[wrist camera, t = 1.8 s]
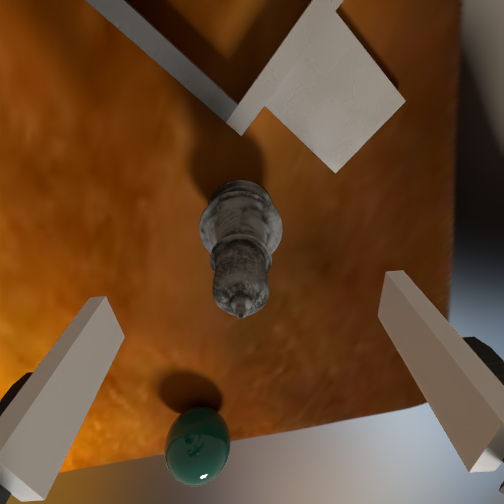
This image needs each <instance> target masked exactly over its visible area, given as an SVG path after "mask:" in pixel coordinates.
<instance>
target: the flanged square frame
mask: <svg viewBox="0 0 504 504" xmlns="http://www.w3.org/2000/svg"><path fill="white" fill-rule="evenodd" d="M86 1H87V2H88V3H89V4H91V5H92V6H93V7H94V8H95V9H96V10H97V11H99V12H100V13H101V14H102V15H103V16H104V17H105V18H107V19H108V20H109V21H110V22H111V23H112V24H113V25H115V26H116V27H117V28H118V29H119V30H120V31H121V32H123V33H124V34H125V35H126V36H127V37H128V38H130V39H131V40H132V41H133V42H134V43H135V44H136V45H138V46H139V47H140V48H141V49H142V50H143V51H144V52H146V53H147V54H148V55H149V56H150V57H151V58H152V59H154V60H155V61H156V62H157V63H158V64H159V65H160V66H162V67H163V68H164V69H165V70H166V71H167V72H168V73H170V74H171V75H172V76H173V77H174V78H175V79H176V80H178V81H179V82H180V83H181V84H182V85H183V86H184V87H186V88H187V89H188V90H189V91H190V92H191V93H192V94H194V95H195V96H196V97H197V98H198V99H199V100H201V101H202V102H203V103H204V104H205V105H206V106H207V107H209V108H210V109H211V110H212V111H213V112H214V113H215V114H217V115H218V116H219V117H220V118H221V119H222V120H223V121H225V122H226V123H227V124H228V125H229V126H230V127H231V128H233V129H234V130H235V131H236V132H237V133H238V134H239V135H241V136H242V134H243V133H244V132H245V131H246V129H247V128H248V127H249V125H250V124H251V123H252V121H253V120H254V119H255V117H256V116H257V115H258V113H259V112H260V111H261V109H262V108H263V107H264V106H266V107H267V108H268V109H269V110H270V111H271V112H272V113H273V114H274V115H275V116H276V117H277V118H278V119H279V120H280V121H281V122H282V123H283V124H284V125H285V126H286V127H287V128H288V129H289V130H291V131H292V132H293V133H294V134H295V135H296V136H297V137H298V138H299V139H300V140H301V141H302V142H303V143H304V144H305V145H306V146H307V147H308V148H309V149H310V150H311V151H312V152H313V153H314V154H316V155H317V156H318V157H319V158H320V159H321V160H322V161H323V162H324V163H325V164H326V165H327V166H328V167H329V168H330V169H331V170H332V171H333V172H334V173H336V172H337V171H338V170H339V169H340V168H341V167H342V166H343V165H344V164H345V163H346V162H347V161H348V160H349V159H350V158H351V157H352V156H353V155H354V154H355V153H356V152H357V151H358V150H359V149H360V148H361V147H362V146H363V145H364V144H365V143H366V141H367V140H368V139H369V138H370V137H371V136H372V135H373V134H374V133H375V132H376V131H377V130H378V129H379V128H380V127H381V126H382V125H383V124H384V123H385V122H386V121H387V120H388V119H389V118H390V117H391V116H392V115H393V114H394V113H395V112H396V111H397V110H398V109H399V108H400V106H401V105H402V104H403V103H404V102H405V100H404V98H403V97H402V96H401V94H400V93H399V92H398V91H397V89H396V88H395V87H394V86H393V84H392V83H391V82H390V80H389V79H388V78H387V77H386V75H385V74H384V73H383V71H382V70H381V69H380V68H379V66H378V65H377V64H376V63H375V61H374V60H373V59H372V57H371V56H370V55H369V54H368V52H367V51H366V50H365V49H364V47H363V46H362V45H361V43H360V42H359V41H358V40H357V38H356V37H355V36H354V34H353V33H352V32H351V31H350V29H349V28H348V27H347V26H346V24H345V23H344V22H343V20H342V19H341V18H340V17H339V15H338V14H337V13H336V10H337V8H338V7H339V6H340V4H341V3H342V2H343V0H311V1H310V3H309V4H308V6H307V7H306V8H305V10H304V11H303V13H302V14H301V15H300V17H299V18H298V20H297V21H296V23H295V24H294V25H293V27H292V28H291V30H290V31H289V32H288V34H287V35H286V37H285V38H284V39H283V41H282V42H281V44H280V45H279V47H278V48H277V49H276V51H275V52H274V54H273V55H272V56H271V58H270V59H269V61H268V62H267V63H266V65H265V66H264V68H263V69H262V71H261V72H260V73H259V75H258V76H257V78H256V79H255V80H254V82H253V83H252V85H251V86H250V87H249V89H248V90H247V92H246V93H245V95H244V96H243V97H242V99H241V100H240V102H239V103H238V102H237V101H236V100H235V99H234V98H232V97H231V96H230V95H229V94H228V93H227V92H226V91H225V90H224V89H223V88H222V87H221V86H219V85H218V84H217V83H216V82H215V81H214V80H213V79H212V78H211V77H210V76H209V75H208V74H206V73H205V72H204V71H203V70H202V69H201V68H200V67H199V66H198V65H197V64H196V63H195V62H193V61H192V60H191V59H190V58H189V57H188V56H187V55H186V54H185V53H184V52H183V51H182V50H180V49H179V48H178V47H177V46H176V45H175V44H174V43H173V42H172V41H171V40H170V39H169V38H167V37H166V36H165V35H164V34H163V33H162V32H161V31H160V30H159V29H158V28H157V27H156V26H155V25H153V24H152V23H151V22H150V21H149V20H148V19H147V18H146V17H145V16H144V15H143V14H142V13H140V12H139V11H138V10H137V9H136V8H135V7H134V6H133V5H132V4H131V3H130V2H129V1H127V0H86Z"/></svg>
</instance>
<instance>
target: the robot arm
mask: <svg viewBox="0 0 504 504" xmlns="http://www.w3.org/2000/svg"><path fill="white" fill-rule="evenodd" d="M378 318H379V320H380V321H381V323H382V325H383V326H384V328H385V330H386V331H387V333H388V335H389V337H390V338H391V340H392V342H393V343H394V345H395V347H396V349H397V350H398V352H399V354H400V355H401V357H402V359H403V361H404V362H405V364H406V366H407V367H408V369H409V371H410V372H411V374H412V376H413V378H414V379H415V381H416V383H417V384H418V386H419V388H420V390H421V391H422V393H423V395H424V396H425V398H426V400H427V402H428V403H429V405H430V407H431V408H432V410H433V412H434V413H435V415H436V417H437V419H438V420H439V422H440V424H441V425H442V427H443V429H444V431H445V432H446V434H447V436H448V437H449V439H450V441H451V442H452V444H453V446H454V448H455V449H456V451H457V453H458V454H459V456H460V458H461V460H462V461H463V463H464V465H465V466H466V468H467V470H468V471H469V472H483V471H495V470H496V469H497V467H498V466H499V465H500V464H501V462H502V461H503V462H504V361H503V360H502V359H501V358H500V357H499V356H498V355H497V354H496V353H495V352H494V350H493V349H492V348H490V347H489V346H488V345H486V344H485V343H482V342H481V341H480V340H478V339H477V338H475V337H464V338H462V337H461V336H460V335H459V334H458V333H457V332H456V331H455V329H454V328H453V327H452V326H451V325H450V324H449V323H448V321H447V320H446V319H445V318H444V317H443V316H442V315H441V313H440V312H439V311H438V310H437V309H436V308H435V307H434V305H433V304H432V303H431V302H430V301H429V300H428V299H427V297H426V296H425V295H424V294H423V293H422V292H421V291H420V289H419V288H418V287H417V286H416V285H415V284H414V283H413V281H412V280H411V279H410V278H409V277H408V276H407V275H406V273H405V272H404V271H403V270H401V271H390V272H386V274H385V280H384V285H383V290H382V295H381V301H380V306H379V311H378ZM124 337H125V336H124V334H123V332H122V330H121V328H120V326H119V324H118V321H117V319H116V317H115V315H114V313H113V311H112V309H111V306H110V304H109V302H108V300H107V298H106V296H101V297H90V298H89V299H88V301H87V302H86V303H85V305H84V306H83V307H82V309H81V310H80V311H79V313H78V314H77V315H76V317H75V318H74V319H73V320H72V322H71V323H70V324H69V326H68V327H67V328H66V330H65V331H64V332H63V334H62V335H61V336H60V338H59V339H58V340H57V342H56V343H55V344H54V346H53V347H52V348H51V350H50V351H49V352H48V354H47V355H46V356H45V358H44V359H43V360H42V362H41V363H40V364H39V366H38V367H37V368H36V370H35V371H34V372H30V373H26V374H25V375H24V376H23V377H22V378H20V379H19V380H18V381H17V382H16V383H15V384H13V385H12V386H11V388H10V389H9V390H8V391H7V393H6V394H5V395H4V396H3V398H2V399H1V402H0V504H6V502H7V500H8V499H9V497H10V495H11V494H12V495H13V496H15V497H16V498H17V499H18V500H20V501H21V502H22V501H37V500H45V499H46V497H47V494H48V493H49V490H50V488H51V486H52V484H53V482H54V480H55V478H56V476H57V474H58V472H59V470H60V468H61V466H62V464H63V462H64V460H65V458H66V456H67V454H68V452H69V450H70V448H71V446H72V444H73V442H74V439H75V437H76V435H77V433H78V431H79V429H80V427H81V425H82V423H83V421H84V419H85V417H86V415H87V413H88V411H89V409H90V407H91V405H92V403H93V401H94V399H95V397H96V395H97V393H98V390H99V388H100V386H101V384H102V382H103V380H104V378H105V376H106V374H107V372H108V370H109V368H110V366H111V364H112V362H113V360H114V358H115V356H116V354H117V352H118V350H119V348H120V346H121V344H122V342H123V339H124ZM499 492H501V493H503V494H504V482H503V483H502V484H501V487H500V489H499Z"/></svg>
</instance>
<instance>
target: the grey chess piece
mask: <svg viewBox="0 0 504 504" xmlns="http://www.w3.org/2000/svg"><path fill="white" fill-rule="evenodd" d="M282 231H283V229H282V220H281V218H280V215H279V213H278V210H277V209H276V208H275V207H274V205H273V203H272V201H271V198H270V196H269V195H268V193H267V192H266V191H265V189H263V188H262V187H261V186H259V185H258V184H256V183H254V182H251V181H247V180H235V181H230V182H228V183H226V184H223V185H222V186H221V187H219V188H218V189H217V190H216V191H215V193H214V194H213V195H212V197H211V200H210V203H209V204H208V206H207V207H206V209H205V210H204V211H203V213H202V216H201V219H200V222H199V234H200V238H201V241H202V243H203V245H204V247H205V248H206V250H207V251H208V252H209V253H210V264H211V267H212V270H213V271H214V280H213V290H212V292H213V297H214V300H215V302H216V304H217V305H218V306H219V307H220V308H221V309H222V310H224V311H225V312H227V313H229V314H231V315H235V316H236V317H238V318H239V319H243V318H244V317H245V316H248V315H251V314H254V313H256V312H257V311H259V310H260V309H261V308H262V307H263V306H264V305H265V304H266V302H267V300H268V296H269V284H268V276H267V273H268V272H269V270H270V268H271V263H272V258H271V254H272V253H273V252H274V251H275V249H276V248H277V246H278V244H279V242H280V240H281V236H282Z"/></svg>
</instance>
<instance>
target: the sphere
mask: <svg viewBox="0 0 504 504" xmlns="http://www.w3.org/2000/svg"><path fill="white" fill-rule="evenodd" d="M230 442H231V440H230V431H229V428H228V425H227V424H226V422H225V420H224V418H223V417H222V416H221V415H220V414H219V413H218V412H217V411H215V410H214V409H211V408H209V407H202V406H199V407H194V408H191V409H188V410H186V411H185V412H183V413H182V414H181V415H180V416H179V417H177V419H176V420H175V421H174V422H173V424H172V425H171V428H170V430H169V432H168V434H167V437H166V440H165V446H164V453H165V459H166V464H167V467H168V469H169V471H170V473H171V474H172V475H173V477H174V478H175V479H176V480H178V481H179V482H181V483H182V484H185V485H188V486H200V485H203V484H206V483H208V482H209V481H211V480H213V479H214V478H215V477H216V476H217V475H218V474H219V473H220V471H221V470H222V469H223V467H224V466H225V464H226V462H227V459H228V456H229V452H230Z"/></svg>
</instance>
